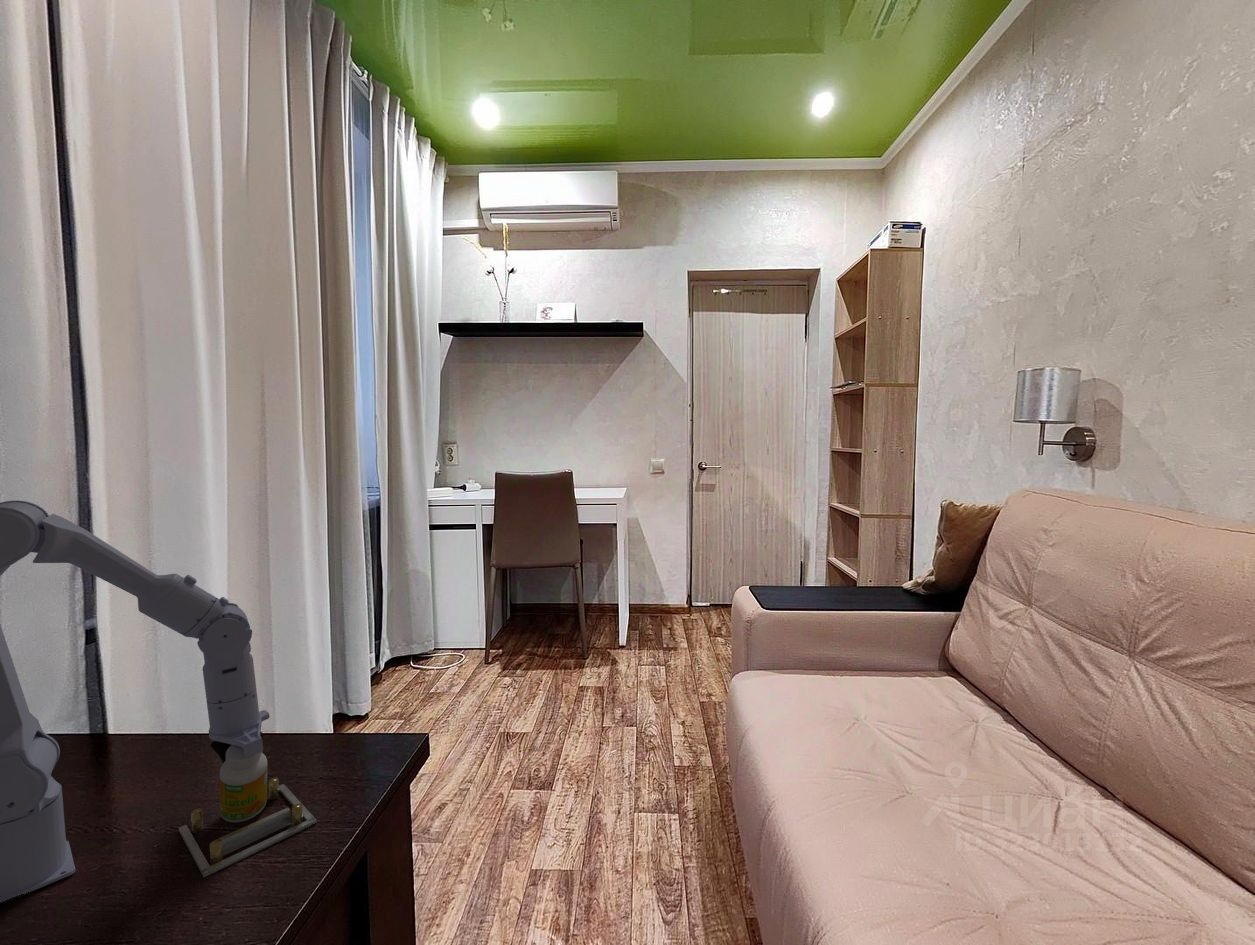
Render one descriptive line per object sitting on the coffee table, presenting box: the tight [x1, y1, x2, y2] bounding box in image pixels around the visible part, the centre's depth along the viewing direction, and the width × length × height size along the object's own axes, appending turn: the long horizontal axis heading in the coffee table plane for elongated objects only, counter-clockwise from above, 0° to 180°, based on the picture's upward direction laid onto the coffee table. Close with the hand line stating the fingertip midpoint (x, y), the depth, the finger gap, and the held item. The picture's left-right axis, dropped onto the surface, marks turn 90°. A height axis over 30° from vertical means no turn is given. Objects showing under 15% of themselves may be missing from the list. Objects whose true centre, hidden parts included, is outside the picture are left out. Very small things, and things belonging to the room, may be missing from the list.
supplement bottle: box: [219, 745, 268, 824], centre depth 78 cm, size 5×5×10 cm
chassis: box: [178, 777, 317, 878], centre depth 76 cm, size 12×12×2 cm
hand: (243, 785), depth 81 cm, fingers closed, pressing on supplement bottle
